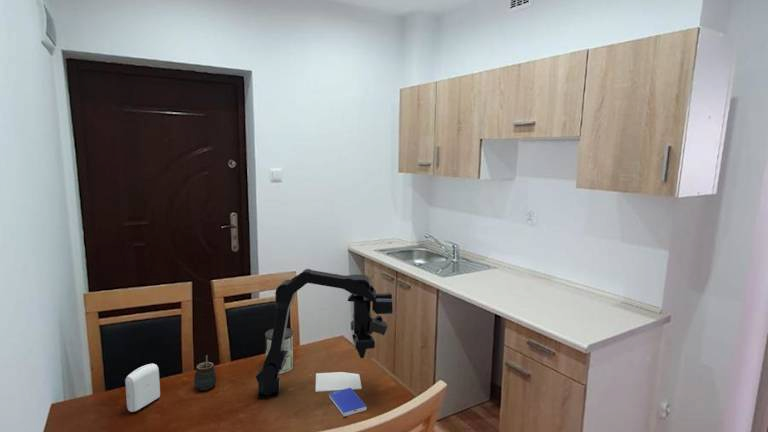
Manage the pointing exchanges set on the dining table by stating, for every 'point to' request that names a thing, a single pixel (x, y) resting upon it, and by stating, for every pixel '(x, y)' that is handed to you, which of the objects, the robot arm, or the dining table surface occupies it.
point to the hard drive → (347, 401)
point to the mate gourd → (205, 375)
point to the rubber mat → (337, 381)
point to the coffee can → (287, 346)
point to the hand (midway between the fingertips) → (362, 357)
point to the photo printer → (142, 387)
